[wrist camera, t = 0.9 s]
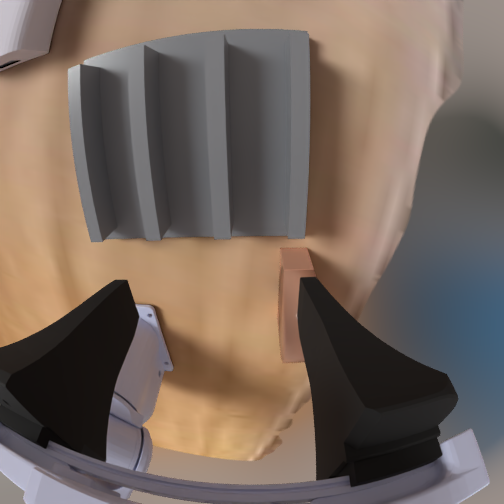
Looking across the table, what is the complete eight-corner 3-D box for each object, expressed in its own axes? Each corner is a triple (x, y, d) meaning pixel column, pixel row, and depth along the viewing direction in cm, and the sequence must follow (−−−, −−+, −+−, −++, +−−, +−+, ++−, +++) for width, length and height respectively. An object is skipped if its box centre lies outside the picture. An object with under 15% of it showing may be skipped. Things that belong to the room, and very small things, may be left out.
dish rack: (301, 229, 20) (309, 253, 17) (110, 233, 20) (90, 254, 17) (304, 35, 13) (315, 19, 10) (91, 61, 13) (63, 57, 10)
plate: (299, 317, 24) (310, 380, 18) (277, 317, 24) (282, 382, 18) (306, 247, 21) (326, 308, 14) (280, 248, 21) (290, 309, 14)
